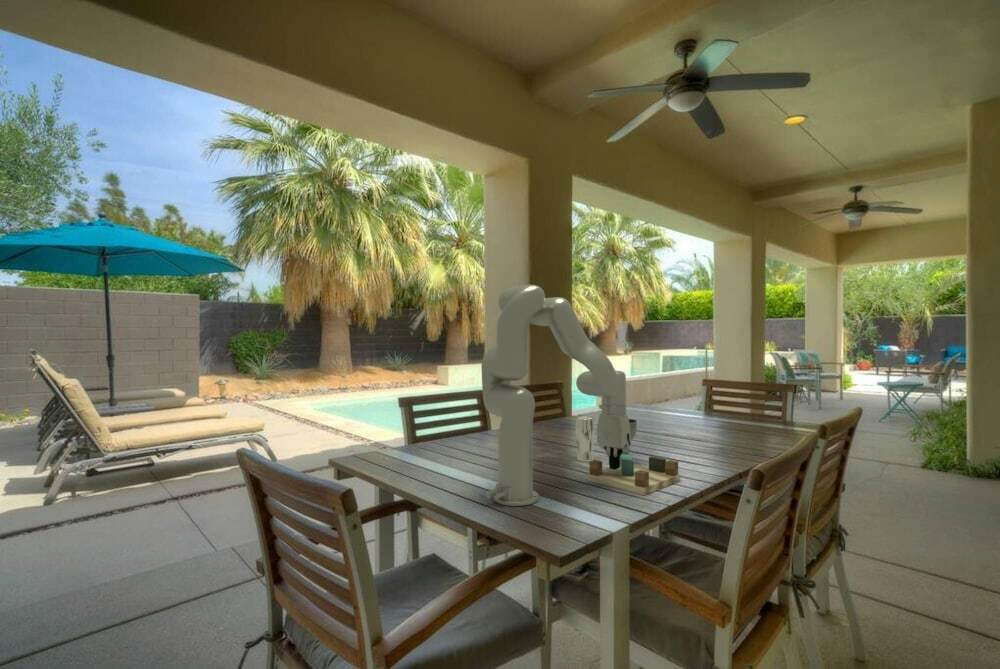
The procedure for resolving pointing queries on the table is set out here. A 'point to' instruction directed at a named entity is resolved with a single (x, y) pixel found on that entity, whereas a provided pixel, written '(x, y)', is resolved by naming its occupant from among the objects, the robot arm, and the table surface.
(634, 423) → the silver goblet
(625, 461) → the leg
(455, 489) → the table surface
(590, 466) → the seat
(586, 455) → the beer glass
